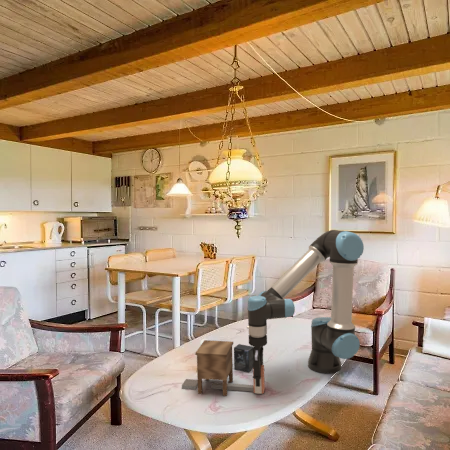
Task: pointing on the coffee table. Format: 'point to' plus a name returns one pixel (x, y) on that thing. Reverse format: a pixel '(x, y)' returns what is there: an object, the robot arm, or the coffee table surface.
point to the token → (190, 384)
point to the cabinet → (214, 363)
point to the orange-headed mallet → (241, 386)
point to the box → (243, 358)
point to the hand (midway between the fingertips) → (259, 389)
